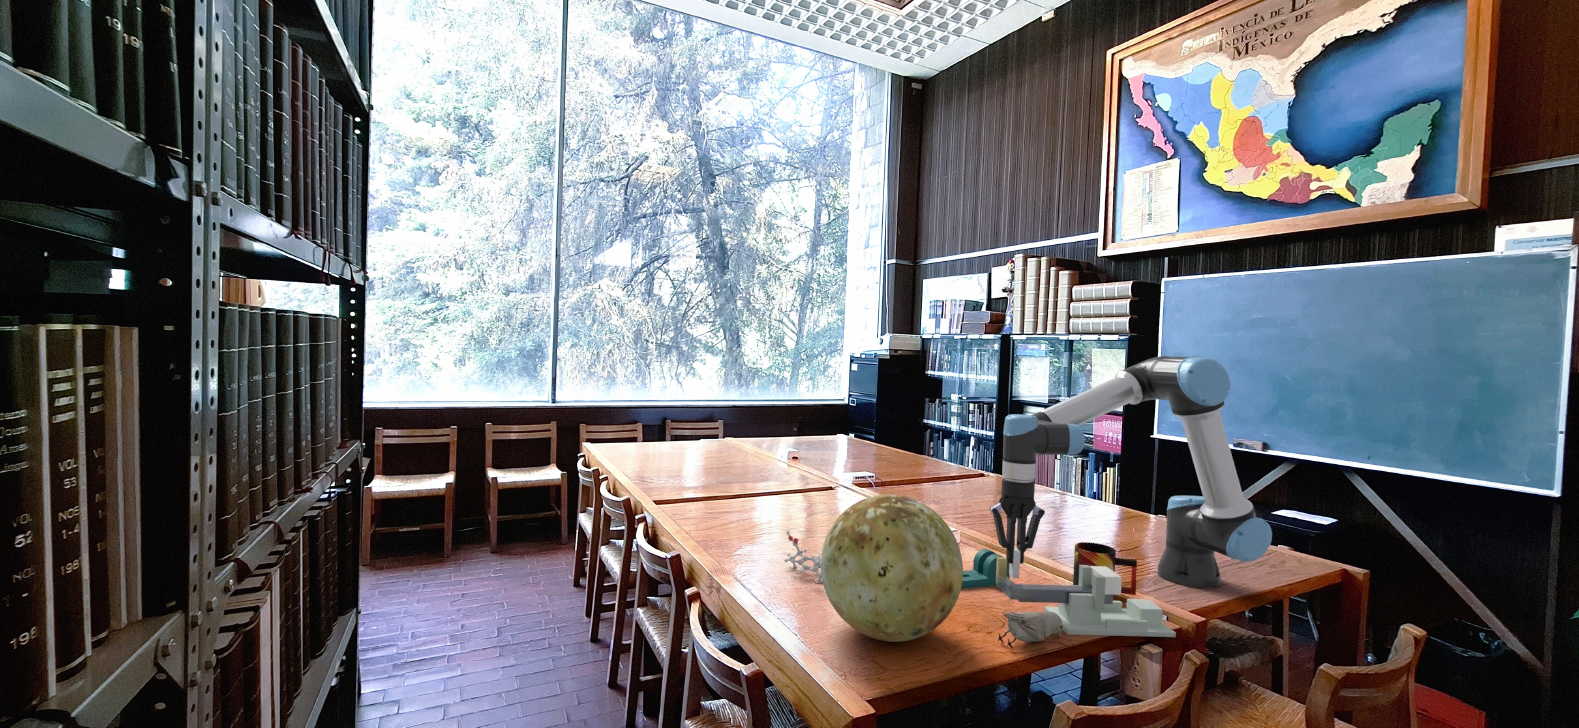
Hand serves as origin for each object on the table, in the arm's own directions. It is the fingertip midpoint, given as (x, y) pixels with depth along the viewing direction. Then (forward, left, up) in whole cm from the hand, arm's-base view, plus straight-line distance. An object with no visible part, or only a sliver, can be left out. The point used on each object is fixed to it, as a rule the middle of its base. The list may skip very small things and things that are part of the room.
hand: (1014, 576), depth 159 cm
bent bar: (-8, +4, -3) cm, 9 cm away
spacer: (-18, +8, 0) cm, 20 cm away
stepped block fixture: (-19, +8, -8) cm, 22 cm away
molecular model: (+48, -19, -8) cm, 52 cm away
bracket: (+5, -17, -8) cm, 19 cm away
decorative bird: (+3, +18, -8) cm, 20 cm away
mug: (-27, -11, -8) cm, 30 cm away
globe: (+33, +17, -8) cm, 38 cm away
